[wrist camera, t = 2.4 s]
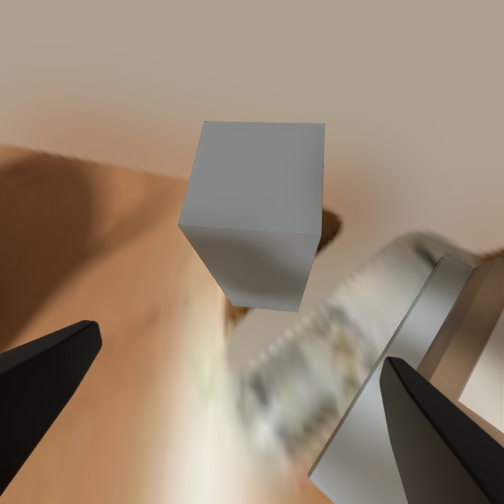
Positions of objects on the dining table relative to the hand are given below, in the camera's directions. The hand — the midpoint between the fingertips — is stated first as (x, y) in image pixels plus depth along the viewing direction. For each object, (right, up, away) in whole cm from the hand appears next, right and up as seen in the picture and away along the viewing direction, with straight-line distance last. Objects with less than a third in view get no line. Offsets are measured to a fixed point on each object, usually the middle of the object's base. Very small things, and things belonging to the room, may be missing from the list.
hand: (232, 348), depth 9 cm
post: (+2, +1, +14) cm, 14 cm away
